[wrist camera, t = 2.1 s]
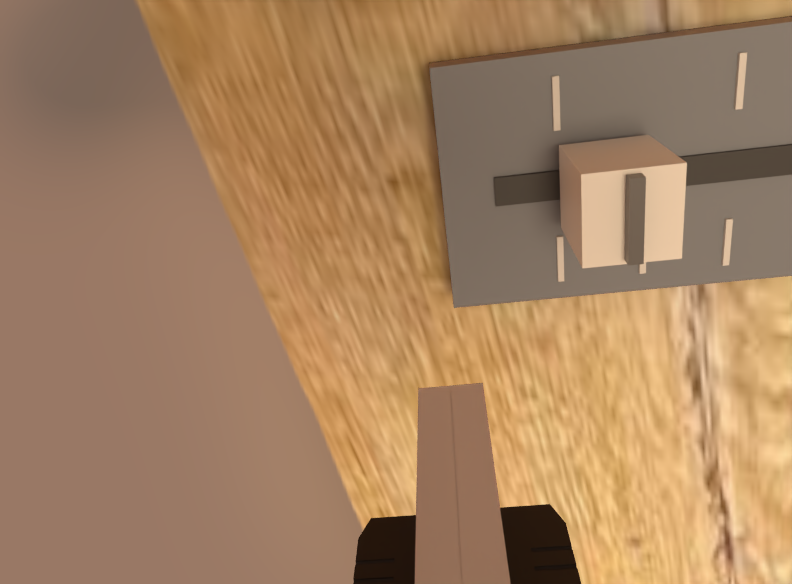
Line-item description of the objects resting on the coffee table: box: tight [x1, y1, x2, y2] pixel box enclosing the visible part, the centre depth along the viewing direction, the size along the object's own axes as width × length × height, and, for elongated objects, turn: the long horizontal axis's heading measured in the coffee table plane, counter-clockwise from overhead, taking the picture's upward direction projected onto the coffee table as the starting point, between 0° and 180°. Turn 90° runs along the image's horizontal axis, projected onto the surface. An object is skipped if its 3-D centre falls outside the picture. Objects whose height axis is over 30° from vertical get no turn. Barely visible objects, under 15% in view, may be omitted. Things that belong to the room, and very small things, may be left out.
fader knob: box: [559, 135, 687, 268], centre depth 29 cm, size 4×4×6 cm
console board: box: [429, 16, 792, 308], centre depth 32 cm, size 12×27×2 cm, turn 97°
